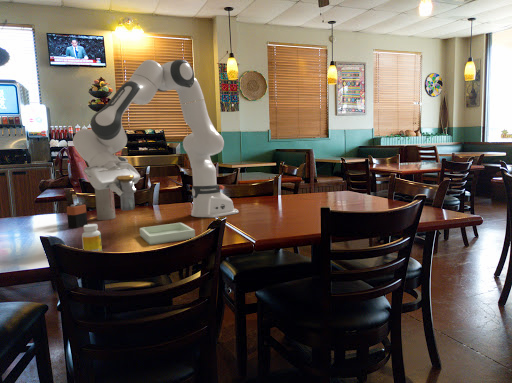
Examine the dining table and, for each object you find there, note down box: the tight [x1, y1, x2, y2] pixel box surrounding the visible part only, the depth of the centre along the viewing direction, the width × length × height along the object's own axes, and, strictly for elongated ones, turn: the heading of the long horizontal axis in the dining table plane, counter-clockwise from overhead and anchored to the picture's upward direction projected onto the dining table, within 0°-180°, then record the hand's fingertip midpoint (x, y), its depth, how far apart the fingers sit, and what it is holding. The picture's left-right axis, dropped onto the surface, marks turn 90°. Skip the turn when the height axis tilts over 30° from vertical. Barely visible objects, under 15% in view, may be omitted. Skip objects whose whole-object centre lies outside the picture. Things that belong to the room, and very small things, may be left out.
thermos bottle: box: [94, 188, 116, 221], centre depth 178 cm, size 8×8×28 cm
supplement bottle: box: [81, 223, 103, 252], centre depth 118 cm, size 5×5×10 cm
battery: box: [66, 202, 88, 229], centre depth 163 cm, size 4×7×10 cm, turn 160°
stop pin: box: [117, 175, 136, 211], centre depth 135 cm, size 6×6×12 cm
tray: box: [139, 222, 196, 246], centre depth 139 cm, size 16×16×3 cm
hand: (128, 193), depth 134 cm, fingers closed on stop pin, 5 cm apart
